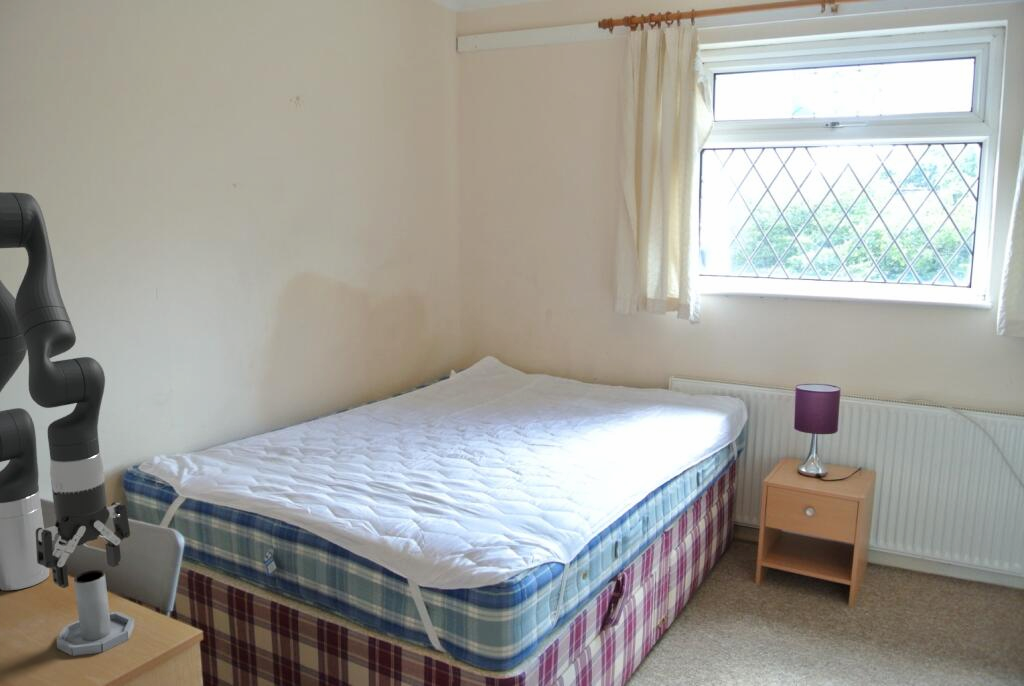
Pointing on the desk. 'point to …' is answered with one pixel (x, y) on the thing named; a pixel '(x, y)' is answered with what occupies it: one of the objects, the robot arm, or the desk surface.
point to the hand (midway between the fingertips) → (88, 575)
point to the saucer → (78, 646)
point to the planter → (92, 605)
